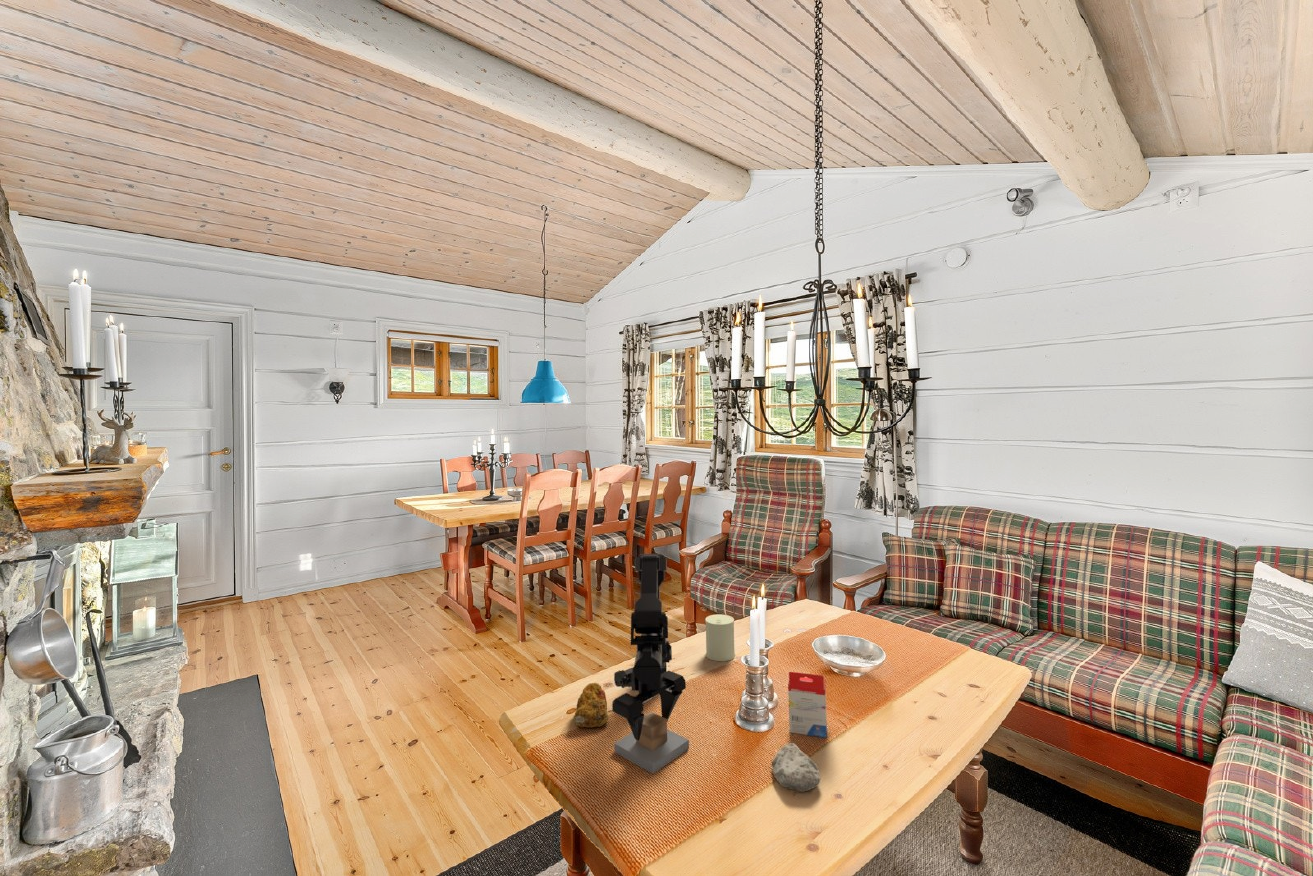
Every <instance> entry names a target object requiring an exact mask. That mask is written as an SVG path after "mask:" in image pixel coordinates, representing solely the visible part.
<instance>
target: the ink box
mask: <svg viewBox="0 0 1313 876" xmlns="http://www.w3.org/2000/svg"><path fill="white" fill-rule="evenodd" d="M826 686H827V685H826V680H825V676H824V675H821V674H814V673H808V672H807V673H805V672H795V671H788V683H787V689H788V692H787V693H788V721H789V722H788V726H789V727H788V728H789V732H790V733H791V734H792V733H793V734H798V735H805V736H811V737H812V736H813V737H817V738H825V739H826V738H827V729H828V728H827V725H828V722H827V718H828V717H827V689H826Z"/></svg>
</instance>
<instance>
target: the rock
mask: <svg viewBox="0 0 1313 876" xmlns="http://www.w3.org/2000/svg"><path fill="white" fill-rule="evenodd" d="M573 719H574V722H575V723H574V724H575V725H576V726H578V727H579V728H594V727H602V726H603V725H605V724H606V723H607V722H608V721H609V714H608V702H607V696H606V692H605V690H604V689H603V688H602V686H601V685H600V684H599V683H598V682H591V683H588V684H587V685H585V687H584V688H583V689H582V693H581V694H580V695H579V698H577V703H576V709H575V712H574V716H573Z"/></svg>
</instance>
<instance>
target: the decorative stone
mask: <svg viewBox="0 0 1313 876" xmlns="http://www.w3.org/2000/svg"><path fill="white" fill-rule="evenodd" d="M771 767H772V773H773V775H774V777H775V779H776V781H777V782H778V783H779V784H780V786H783V787H784V788H788V789H790V790H792V791H795V792H798V793H804V792H807V791H810V790H812V789H814V788H816V787H817V786H818V785H819V784H820V782H821V777H820V774H819V773H820V772H819V766H818V765H817V764H816V763H815V762H814V761H813V759H811V758H810V756H809V755H808V754H806V753H805V752H803V751H802V750H800V748H799V746H797V744H796V743H794V742H790V743H788V744H785V745H783V746H782V747H781V748H780V749H779V750H778V751H777V752H776V754H775V756H774V757H773V759H772V761H771Z"/></svg>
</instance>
